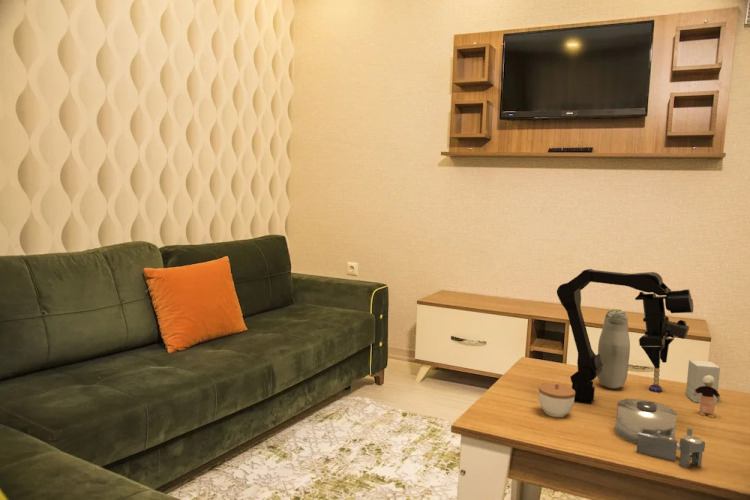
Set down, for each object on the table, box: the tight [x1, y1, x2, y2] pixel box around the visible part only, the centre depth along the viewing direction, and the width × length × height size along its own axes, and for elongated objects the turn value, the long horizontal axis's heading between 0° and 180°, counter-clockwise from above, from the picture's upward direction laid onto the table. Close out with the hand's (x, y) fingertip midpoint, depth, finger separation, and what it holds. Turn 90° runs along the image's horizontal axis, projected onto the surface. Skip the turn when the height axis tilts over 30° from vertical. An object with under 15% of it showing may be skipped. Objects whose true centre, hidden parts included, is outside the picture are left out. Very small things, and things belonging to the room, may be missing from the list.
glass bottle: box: [596, 309, 631, 390], centre depth 195 cm, size 10×10×28 cm
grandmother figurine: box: [693, 375, 723, 418], centre depth 173 cm, size 8×4×13 cm, turn 65°
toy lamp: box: [648, 366, 663, 393], centre depth 194 cm, size 5×5×17 cm
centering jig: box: [636, 428, 706, 469], centre depth 142 cm, size 12×17×7 cm
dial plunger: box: [668, 438, 694, 458], centre depth 142 cm, size 7×2×2 cm, turn 14°
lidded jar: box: [538, 382, 575, 418], centre depth 170 cm, size 11×11×9 cm
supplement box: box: [685, 359, 721, 405], centre depth 186 cm, size 7×7×13 cm
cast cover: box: [615, 398, 678, 445], centre depth 156 cm, size 15×15×9 cm
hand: (661, 365), depth 167 cm, fingers open, 9 cm apart
